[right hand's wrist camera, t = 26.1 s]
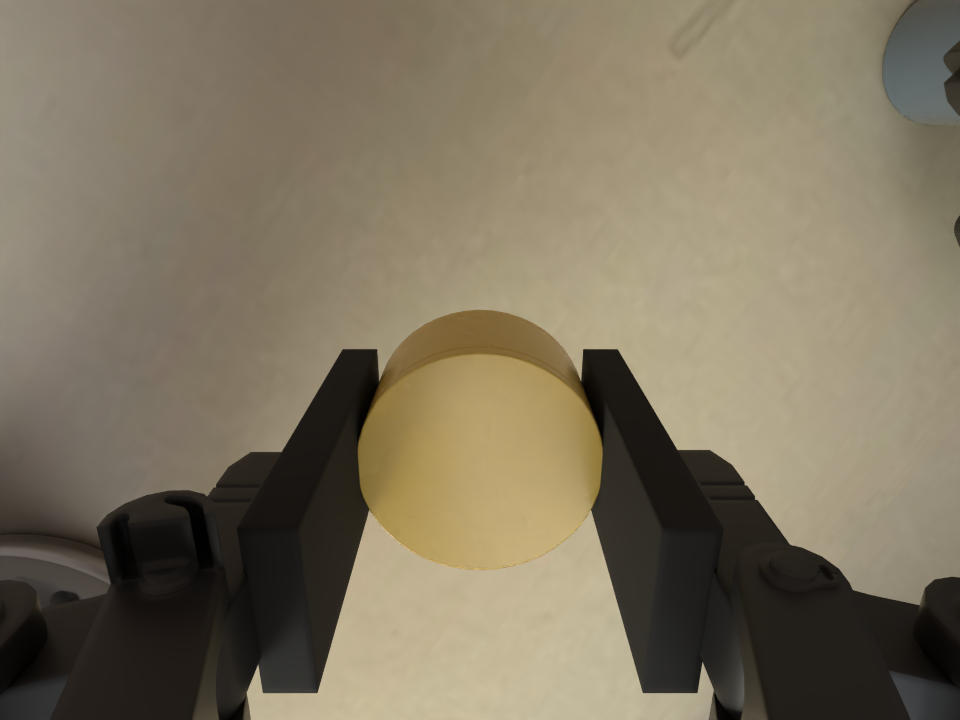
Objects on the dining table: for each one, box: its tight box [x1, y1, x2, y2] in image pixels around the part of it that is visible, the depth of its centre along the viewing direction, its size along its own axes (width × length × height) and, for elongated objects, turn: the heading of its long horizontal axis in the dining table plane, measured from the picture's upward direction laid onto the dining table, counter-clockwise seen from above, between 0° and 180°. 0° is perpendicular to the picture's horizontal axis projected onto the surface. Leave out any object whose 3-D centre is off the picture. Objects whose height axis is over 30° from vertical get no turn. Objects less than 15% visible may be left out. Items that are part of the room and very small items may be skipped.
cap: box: [358, 310, 603, 570], centre depth 13 cm, size 5×5×3 cm
